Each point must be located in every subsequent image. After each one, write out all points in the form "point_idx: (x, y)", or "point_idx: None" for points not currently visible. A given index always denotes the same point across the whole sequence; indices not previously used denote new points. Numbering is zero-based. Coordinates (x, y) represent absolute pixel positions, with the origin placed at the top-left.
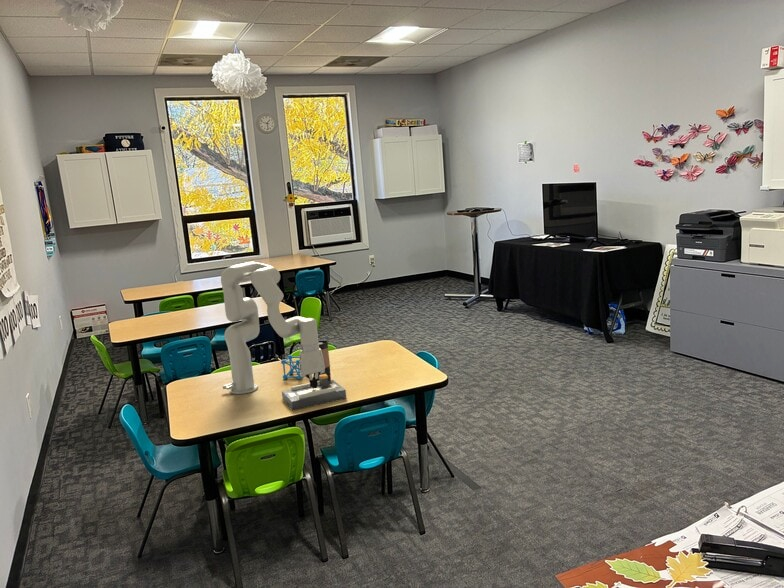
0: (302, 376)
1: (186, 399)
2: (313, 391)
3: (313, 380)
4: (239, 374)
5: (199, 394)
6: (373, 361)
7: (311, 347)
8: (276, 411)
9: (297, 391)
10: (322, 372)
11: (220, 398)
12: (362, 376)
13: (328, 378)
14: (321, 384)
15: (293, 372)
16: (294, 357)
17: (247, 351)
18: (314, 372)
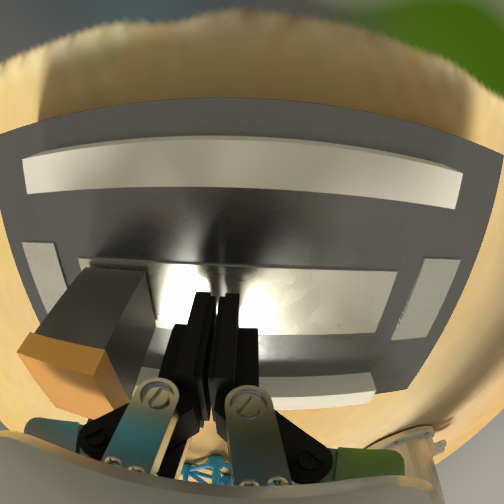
0: (382, 455)
1: (486, 417)
2: (284, 184)
3: (219, 371)
4: (434, 479)
5: (459, 434)
6: (10, 405)
7: None
8: (500, 207)
9: (356, 345)
10: (54, 427)
11: (466, 412)
12: (3, 354)
13: None
14: (130, 306)
15: (222, 478)
16: None
17: None
18: (171, 497)
